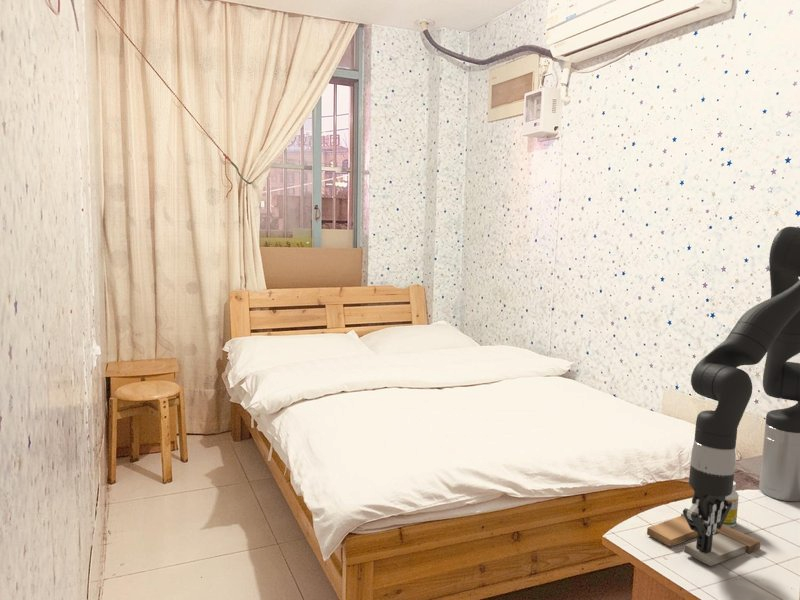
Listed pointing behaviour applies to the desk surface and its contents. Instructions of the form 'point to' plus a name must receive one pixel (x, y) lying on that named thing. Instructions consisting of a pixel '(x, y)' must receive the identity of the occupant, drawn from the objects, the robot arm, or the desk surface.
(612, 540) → the desk surface
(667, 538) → the chestnut plank
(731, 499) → the supplement bottle
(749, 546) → the walnut panel
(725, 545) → the grey ash plank
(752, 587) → the desk surface
